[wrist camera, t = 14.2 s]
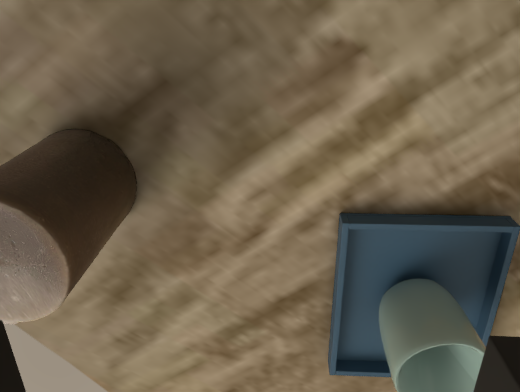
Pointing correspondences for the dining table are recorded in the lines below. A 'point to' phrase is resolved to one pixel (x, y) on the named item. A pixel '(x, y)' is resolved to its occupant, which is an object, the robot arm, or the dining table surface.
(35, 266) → the pillar candle
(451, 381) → the cup
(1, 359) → the robot arm
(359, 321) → the tray
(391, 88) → the dining table surface
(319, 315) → the dining table surface
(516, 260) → the dining table surface
